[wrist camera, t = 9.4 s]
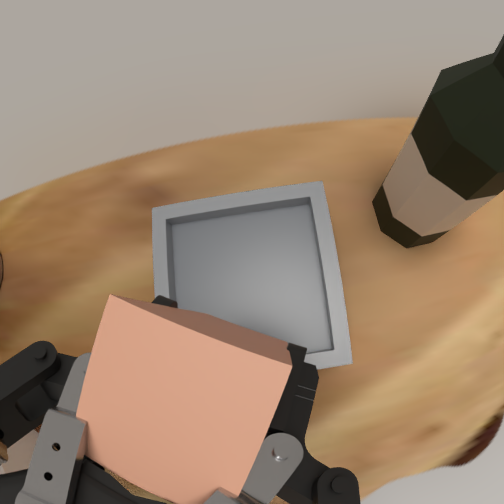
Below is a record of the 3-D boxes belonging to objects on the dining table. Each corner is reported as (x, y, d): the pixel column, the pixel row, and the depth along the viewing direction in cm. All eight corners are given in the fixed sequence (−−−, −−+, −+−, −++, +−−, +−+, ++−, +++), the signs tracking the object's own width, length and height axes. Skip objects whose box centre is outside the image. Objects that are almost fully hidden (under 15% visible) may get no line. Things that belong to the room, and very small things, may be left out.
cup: (82, 483, 26) (12, 521, 13) (34, 491, 26) (-28, 517, 13) (38, 397, 29) (-44, 408, 16) (-3, 417, 29) (-71, 426, 16)
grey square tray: (190, 371, 28) (163, 382, 22) (178, 232, 32) (152, 208, 25) (338, 355, 27) (352, 363, 21) (316, 211, 31) (322, 180, 24)
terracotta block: (258, 419, 15) (225, 522, 5) (179, 389, 16) (70, 445, 6) (287, 341, 16) (292, 366, 6) (206, 313, 17) (109, 294, 7)
